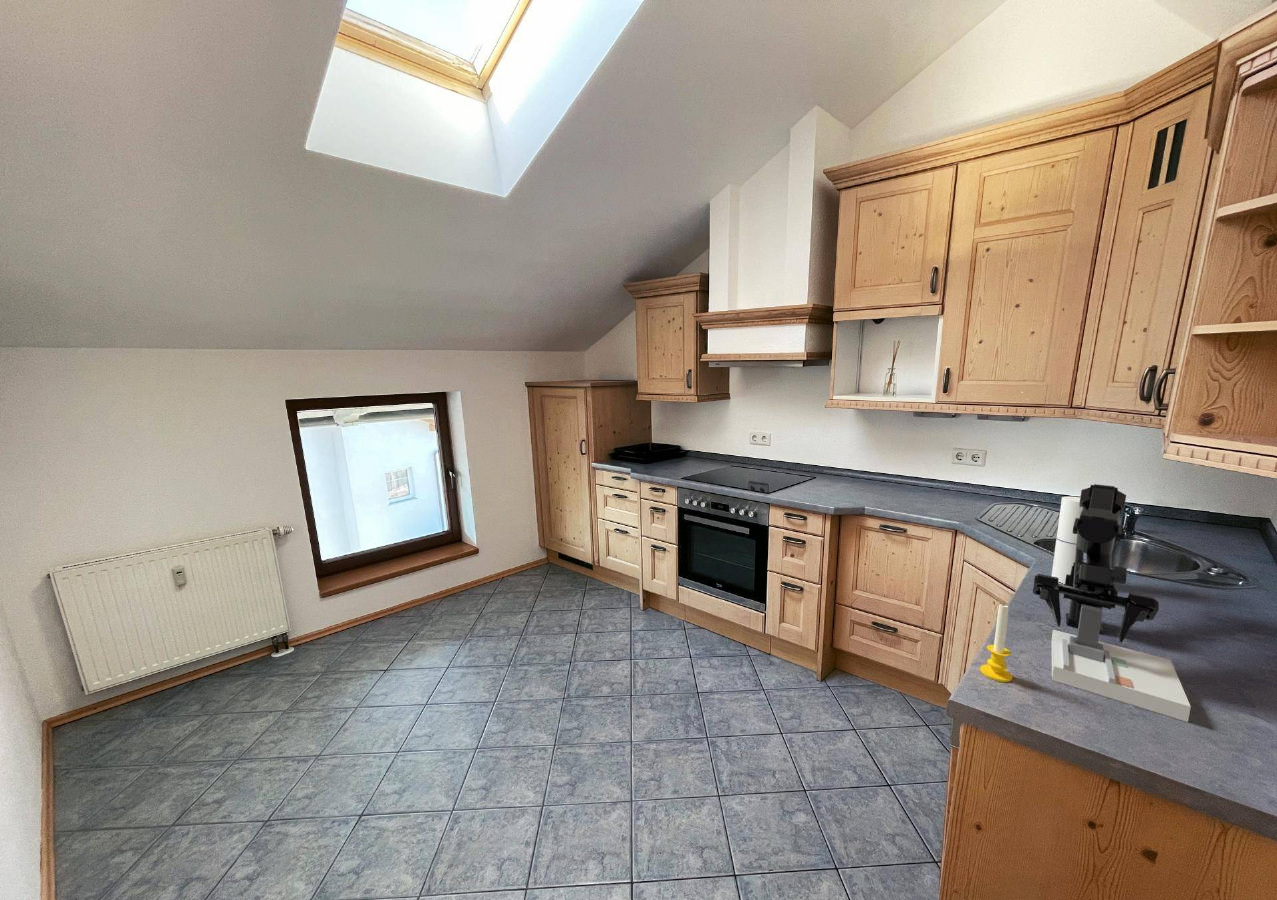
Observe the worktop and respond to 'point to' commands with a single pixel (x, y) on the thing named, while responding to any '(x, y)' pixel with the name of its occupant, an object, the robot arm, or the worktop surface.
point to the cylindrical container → (1066, 538)
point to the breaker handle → (1088, 634)
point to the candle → (998, 650)
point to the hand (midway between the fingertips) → (1088, 633)
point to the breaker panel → (1122, 677)
